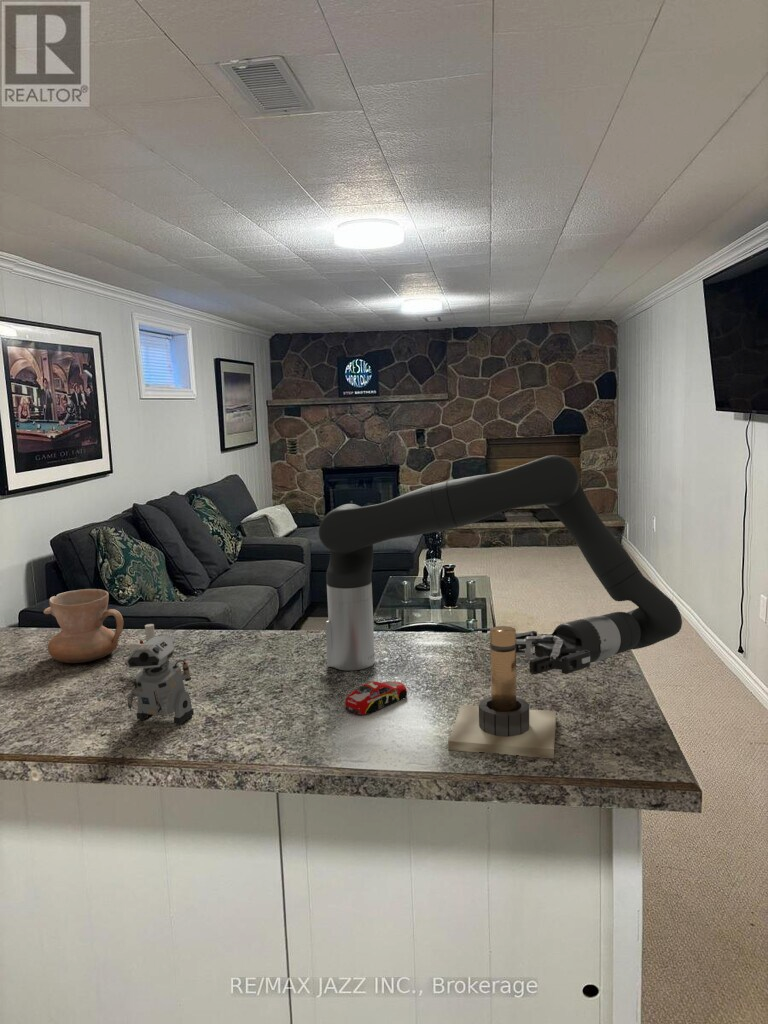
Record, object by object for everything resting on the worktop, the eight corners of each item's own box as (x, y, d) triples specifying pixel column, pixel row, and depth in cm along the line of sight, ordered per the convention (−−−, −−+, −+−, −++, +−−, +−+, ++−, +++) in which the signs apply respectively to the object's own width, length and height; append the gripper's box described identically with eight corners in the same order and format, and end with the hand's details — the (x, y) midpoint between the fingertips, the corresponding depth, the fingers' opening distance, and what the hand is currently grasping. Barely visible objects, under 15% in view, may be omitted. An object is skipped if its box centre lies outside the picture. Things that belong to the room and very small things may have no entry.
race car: (392, 690, 143) (391, 669, 143) (413, 697, 139) (412, 676, 139) (340, 711, 134) (339, 690, 134) (360, 720, 130) (359, 697, 130)
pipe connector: (117, 677, 154) (113, 630, 153) (149, 661, 163) (145, 616, 162) (157, 682, 150) (153, 634, 149) (187, 666, 160) (184, 620, 158)
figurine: (115, 735, 127) (107, 649, 125) (156, 708, 138) (150, 629, 136) (161, 741, 124) (153, 653, 122) (199, 713, 135) (193, 632, 133)
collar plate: (448, 750, 117) (447, 719, 117) (461, 713, 131) (461, 685, 130) (553, 758, 113) (553, 727, 113) (556, 719, 127) (556, 691, 126)
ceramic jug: (29, 667, 162) (23, 603, 160) (68, 645, 176) (63, 586, 174) (107, 671, 159) (102, 606, 157) (140, 648, 173) (135, 588, 171)
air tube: (489, 729, 121) (488, 633, 118) (492, 718, 125) (491, 625, 122) (516, 731, 119) (515, 634, 117) (518, 720, 124) (517, 626, 121)
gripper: (557, 610, 135) (485, 627, 127) (618, 629, 123) (543, 649, 115) (557, 650, 136) (486, 670, 128) (618, 673, 124) (543, 696, 116)
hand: (513, 660), depth 121 cm, fingers open, 8 cm apart
